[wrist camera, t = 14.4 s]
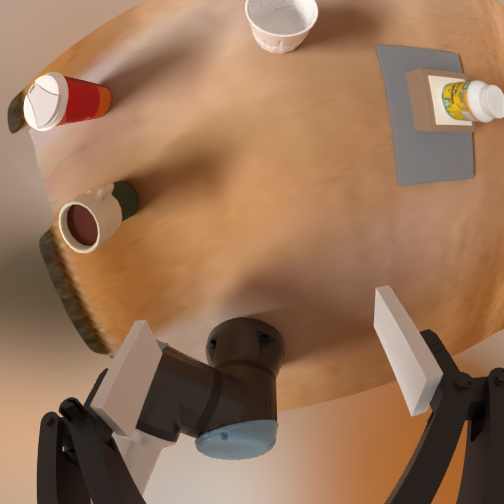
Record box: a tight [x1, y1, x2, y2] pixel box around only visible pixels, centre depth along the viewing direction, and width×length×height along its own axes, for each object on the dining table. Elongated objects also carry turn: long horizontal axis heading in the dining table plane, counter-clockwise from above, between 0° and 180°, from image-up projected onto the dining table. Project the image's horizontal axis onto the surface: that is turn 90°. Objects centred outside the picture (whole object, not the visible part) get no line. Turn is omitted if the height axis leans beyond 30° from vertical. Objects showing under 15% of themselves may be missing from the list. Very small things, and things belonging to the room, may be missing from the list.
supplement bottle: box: [440, 80, 504, 123], centre depth 22 cm, size 5×5×10 cm
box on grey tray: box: [375, 45, 476, 186], centre depth 30 cm, size 22×16×6 cm
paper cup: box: [24, 72, 112, 131], centre depth 28 cm, size 8×8×14 cm
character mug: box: [59, 181, 138, 253], centre depth 36 cm, size 11×7×13 cm, turn 141°
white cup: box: [245, 0, 318, 54], centre depth 25 cm, size 8×8×10 cm
